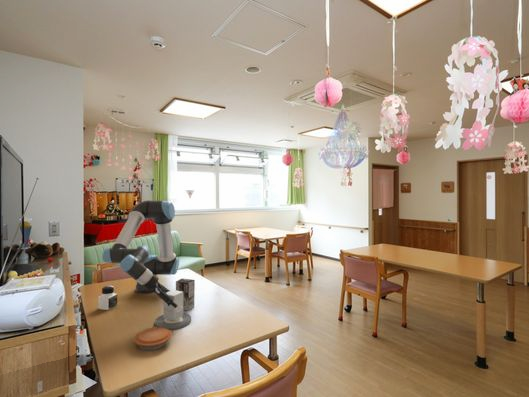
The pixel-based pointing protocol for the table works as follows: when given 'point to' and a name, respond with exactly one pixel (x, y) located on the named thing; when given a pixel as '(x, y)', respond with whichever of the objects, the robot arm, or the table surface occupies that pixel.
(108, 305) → the white bottle
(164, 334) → the pie
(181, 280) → the coffee box
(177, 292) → the supplement box
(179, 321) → the charcoal plate
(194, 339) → the table surface
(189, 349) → the table surface
